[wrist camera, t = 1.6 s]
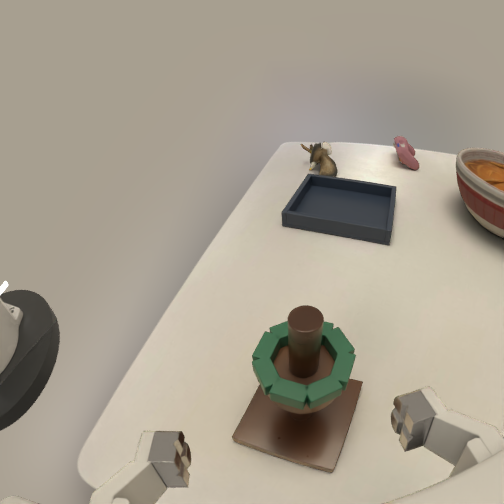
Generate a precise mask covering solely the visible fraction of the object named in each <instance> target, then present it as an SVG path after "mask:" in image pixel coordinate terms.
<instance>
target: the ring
mask: <svg viewBox="0 0 504 504" xmlns="http://www.w3.org/2000/svg"><path fill="white" fill-rule="evenodd" d="M287 345H288V321H286V322H284V323H281V324H278V325H276V326H273V327H270V333H269V332H265V333H264V334H263V336H262V338H261V340H260V342H259V344H258V346H257V347H256V349H255V351H254V353H253V355H252V358H253V361H252V365H253V370H254V373H255V375H256V377H257V379H258V381H259V383H260V386H261V388H262V390H263V392H264V394H265V395H269V394H270V400H272V401H275V402H278V403H281V404H285V405H288V406H291V407H294V408H298V409H301V410H303V409H304V407H305V405H306V403H307V405H308V407H309V408H310V409H312V408H314V407H317V406H319V405H321V404H323V403H325V402H328V401H330V400H332V399H334V398H336V397H338V396H340V395H341V392H342V390H344V391H345V390H346V387H347V384H348V380H349V377H350V374H351V371H352V367H353V364H354V360H355V357H356V355H355V354H354V350H355V349H354V348H353V346H352V345H351V343H350V342H349V341H348V339H347V338H346V337H345V335H344V334H343V332H342V331H341V330H340V328H339V327H337V328H334V329H333V323H328V322H324V321H323V331H322V341H321V345H324V346H325V347H326V349H327V350H328V352H329V353H330V355H331V356H332V358H333V359H334V361H335V363H334V365H333V368H332V371H331V374H330V375H329V376H327V377H325V378H322V379H320V380H318V381H316V382H313V383H311V384H309V385H303V384H300V383H296V382H293V381H289V380H286V379H283V378H280V376H279V374H278V372H277V370H276V368H275V366H274V364H273V362H274V360H275V358H276V356H277V354H278V352H279V350H280V348H282V347H285V346H287Z"/></svg>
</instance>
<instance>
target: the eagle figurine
mask: <svg viewBox="0 0 504 504" xmlns="http://www.w3.org/2000/svg"><path fill="white" fill-rule="evenodd" d="M301 146H302V147H303V149H305V150H306V151H308V152H310V153H311V157H310V163H312V164H311V166H310V169H309V170H311V169H313V168H314V167H315V166H316V165H317V164H318V163H320V168H321V169H320V172H319V175H322V176H330V177H335V176H336V174H337V167H336V164H335V162H334V161H333V160H332V159H331V158H330V157H329V156H328V155H331V154H332V150H331V146H330V144H329V143H327V142H323V144H322V149H321V143H320V144H315V145H314V147H313V146H312V144H311V145H310V149H308V148H307V147H305V146H304V145H303V144H301Z"/></svg>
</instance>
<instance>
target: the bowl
mask: <svg viewBox="0 0 504 504" xmlns="http://www.w3.org/2000/svg"><path fill="white" fill-rule="evenodd" d="M456 171H457V172H456V173H457V181H458V186H459V190H460V193H461V196H462V198H463V200H464V202H465V204H466V206H467V208H468V210H469V211H470V213H471V214H472V215H473V217H474V218H475V219H476V220H477V221H478V222H479V223H480V224H481V225H482V226H483V227H484V228H486V229H487V230H489V231H490V232H492V233H494V234H495V235H497V236H500V237H502V238H504V153H502V152H499V151H495V150H490V149H484V148H467V149H463V150H462V151H460V152H459V153H458V155H457V158H456Z"/></svg>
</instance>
